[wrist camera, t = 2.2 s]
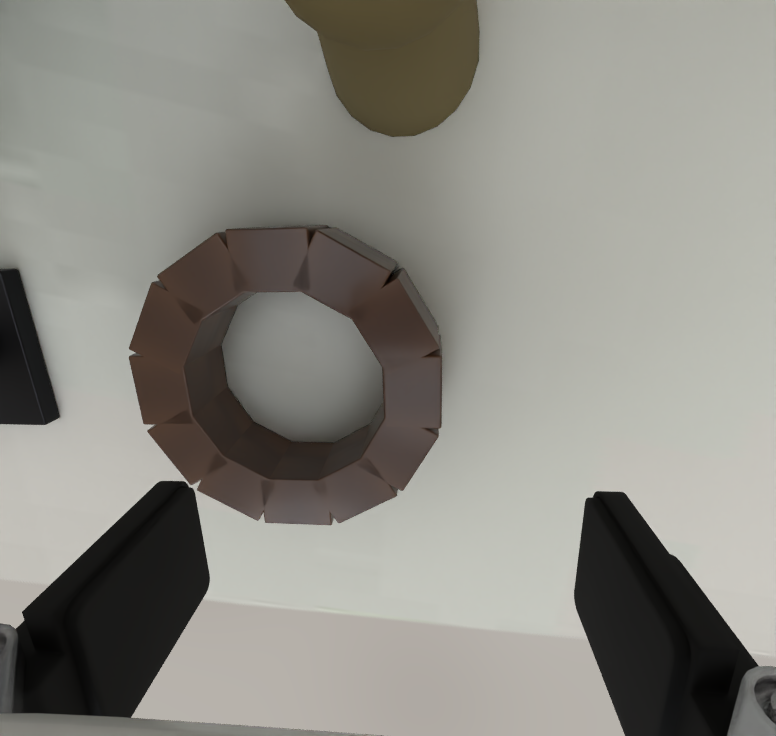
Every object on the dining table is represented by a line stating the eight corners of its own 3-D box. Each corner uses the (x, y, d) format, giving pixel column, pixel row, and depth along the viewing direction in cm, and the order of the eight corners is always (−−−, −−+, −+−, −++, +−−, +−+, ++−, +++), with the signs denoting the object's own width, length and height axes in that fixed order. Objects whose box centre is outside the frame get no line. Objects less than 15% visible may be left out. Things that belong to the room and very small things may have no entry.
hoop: (441, 221, 20) (443, 222, 16) (439, 484, 24) (440, 529, 20) (154, 230, 21) (100, 232, 17) (200, 478, 25) (163, 519, 22)
